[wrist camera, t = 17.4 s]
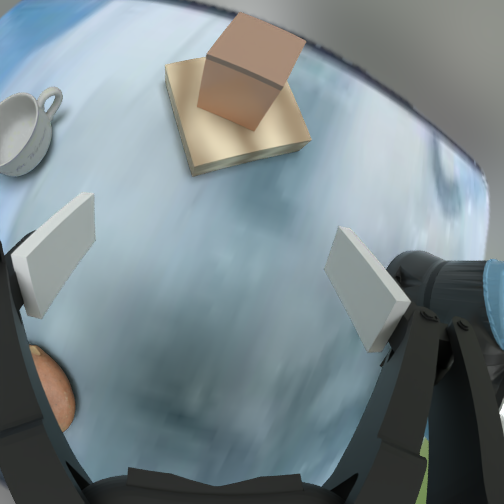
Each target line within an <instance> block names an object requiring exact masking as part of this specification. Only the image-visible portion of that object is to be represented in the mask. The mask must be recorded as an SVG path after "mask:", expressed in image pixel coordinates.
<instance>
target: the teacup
mask: <svg viewBox="0 0 504 504" xmlns="http://www.w3.org/2000/svg"><path fill="white" fill-rule="evenodd" d="M53 95H55V99H54V102H53V104H52V105H51V107H50V108H49V110H48V111H47V112H45V111H44V109H45V108H44V103H45V101H46V100H47V99H48V98H49V97H51V96H53ZM62 99H63V95H62V92H61V90H60V89H59V88H57V87H49V88H47V89H46V90H44V91H43V92H42V93H41V94H40V96H39V98H38V100H37V101H36V99H35V98H34V97H33V96H32V95H30V94H28V93H17V94H14V95H12V96H9V97H8V98H6V99H5V100H3V101H2V102H1V103H0V173H2V174H4V175H7V176H12V177H16V176H21V175H24V174H26V173H28V172H30V171H31V170H33V169H34V168H35V167H36V166H37V165H38V164H39V163H40V162H41V160H42V159H43V157H44V156H45V154H46V152H47V150H48V148H49V145H50V142H51V137H52V128H51V121H52V120H53V116H54V114H55V113H56V111H57V110H58V108H59V106H60V104H61V102H62Z"/></svg>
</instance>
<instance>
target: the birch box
mask: <svg viewBox="0 0 504 504" xmlns="http://www.w3.org/2000/svg"><path fill="white" fill-rule="evenodd" d="M205 60H206V57H202V58H196V59H191V60H185V61H180V62H176V63H171V64H166V65H165V82H166V86H167V90H168V93H169V97H170V101H171V104H172V108H173V112H174V115H175V119H176V122H177V126H178V129H179V133H180V136H181V140H182V143H183V147H184V150H185V154H186V157H187V160H188V164H189V167H190V170H191V174H192V177H194V176H197V175H201V174H205V173H208V172H212V171H215V170H219V169H223V168H227V167H231V166H235V165H239V164H243V163H247V162H251V161H255V160H259V159H264V158H268V157H272V156H277V155H282V154H286V153H291V152H296V151H299V150H300V149H302V148H303V147H304V146H305V145H306V144H308V143H309V142H310V141H311V137H310V134H309V132H308V129H307V127H306V124H305V122H304V119H303V117H302V114H301V112H300V110H299V107H298V105H297V103H296V100H295V98H294V96H293V93H292V91H291V89H290V86H289V84H288V82H287V81H286V83H285V85H284V87H283V89H282V90H281V92H280V93H279V94H278V96H277V97H276V99H275V100H274V102H273V104H272V105H271V107H270V108H269V110H268V111H267V113H266V114H265V116H264V117H263V119H262V120H261V122H260V123H259V125H258V127H257V128H256V130H255V131H252V130H250V129H247V128H245V127H243V126H241V125H239V124H236V123H234V122H232V121H230V120H227V119H225V118H223V117H220V116H218V115H216V114H213V113H211V112H208V111H206V110H204V109H201V108H199V107H197V103H198V97H199V91H200V86H201V80H202V75H203V70H204V65H205Z"/></svg>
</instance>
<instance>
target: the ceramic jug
mask: <svg viewBox="0 0 504 504" xmlns="http://www.w3.org/2000/svg"><path fill="white" fill-rule="evenodd" d="M29 347H30V351H31V354H32V357H33V360H34V363H35V366H36V369H37V372H38V375H39V378H40V381H41V383H42V386H43V389H44V391H45V394H46V396H47V399H48V401H49V404H50V406H51V408H52V411H53V413H54V415H55V418H56V420H57V422H58V424H59V426H60V428H61V430H62V432H64V431H65V430H66V429H67V428H68V427H69V426H70V425H71V423H72V421H73V418H74V414H75V398H74V394H73V392H72V388H71V385H70V382H69V380H68V378H67V376H66V375H65V373H64V372H63V370H62V369H61V367H60V366H59V365H58V364H57V363H56V362H55V361H54V360H53V359H52V358H51V357H50V356H49V355H48V354H46V353H45V352H44V351H43V350H42V349H41V348H39V347H38V346H37V345H34V346H33V345H30V344H29Z"/></svg>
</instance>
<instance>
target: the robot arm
mask: <svg viewBox="0 0 504 504" xmlns="http://www.w3.org/2000/svg"><path fill="white" fill-rule="evenodd" d="M95 241H96V238H95V213H94V193H86V192H81V193H80V194H79V195H78V196H76V197H75V198H74V199H73V200H71V201H70V202H69V203H68V204H66V205H65V206H64V207H63V208H61V209H60V210H59V211H58V212H57V213H55V214H54V215H53V216H52V217H51V218H50V219H48V220H47V221H46V222H45V223H44V224H43V225H42V226H40V227H39V228H38V229H37V230H34V231H32V232H30V233H29V234H27V235H26V236H24V237H23V238H22V239H21V241H19V242H18V243H17V244H16V246H14V247H13V248H12V249H11V250H10V251H9V252H8V253H7V254H6V255H5V256H4V253H3V248H2V243H1V241H0V468H1V471H2V473H3V476H4V478H5V481H6V483H7V486H8V488H9V490H10V492H11V495H12V497H13V499H14V501H15V503H16V504H415V503H416V500H417V497H418V494H419V491H420V488H421V484H422V481H423V478H424V475H425V471H426V467H427V460H426V458H425V457H422V456H420V455H419V454H420V449H421V445H422V441H423V437H424V436H425V437H426V438H427V440H428V441H429V464H428V465H429V466H428V486H427V500H426V504H504V261H498V260H496V259H490V260H488V261H445V260H443V259H441V258H439V257H436V256H434V255H432V254H430V253H427V252H425V251H406V252H404V253H402V254H400V255H398V256H397V257H396V258H395V259H394V260H393V261H392V262H391V264H390V265H389V267H388V268H387V270H386V269H385V268H384V267H383V266H382V264H381V263H380V262H379V261H378V260H377V258H376V257H375V256H374V255H373V254H372V253H371V251H370V250H369V249H368V248H367V247H366V246H365V244H364V243H363V242H362V241H361V240H360V239H359V238H358V236H357V235H356V234H355V233H354V232H353V231H352V230H351V228H345V227H340V226H339V227H338V230H337V233H336V236H335V239H334V242H333V245H332V248H331V250H330V253H329V256H328V259H327V262H326V265H325V268H324V270H325V272H326V274H327V275H328V277H329V279H330V281H331V283H332V285H333V287H334V288H335V290H336V292H337V294H338V296H339V298H340V300H341V302H342V304H343V305H344V307H345V309H346V311H347V313H348V315H349V317H350V319H351V321H352V323H353V325H354V327H355V329H356V331H357V333H358V335H359V337H360V339H361V341H362V343H363V345H364V347H365V349H366V351H367V353H370V352H382V350H383V349H384V347H385V346H386V344H387V343H388V342H389V344H390V345H391V347H392V348H391V350H390V351H389V353H388V354H387V356H386V357H385V359H384V360H383V362H382V363H381V365H380V366H381V367H382V366H383V368H382V371H381V373H380V376H379V378H378V381H377V383H376V386H375V388H374V391H373V393H372V396H371V398H370V400H369V403H368V405H367V407H366V409H365V412H364V414H363V416H362V418H361V420H360V422H359V425H358V427H357V429H356V431H355V433H354V435H353V437H352V439H351V441H350V443H349V445H348V447H347V449H346V450H345V452H344V454H343V456H342V458H341V460H340V462H339V463H338V465H337V467H336V469H335V470H334V472H333V474H332V475H331V476H330V478H329V479H328V480H327V481H326V482H325V483H324V484H323V486H322V487H320V486H317V485H314V484H310V483H305V482H302V481H301V476H300V474H292V475H280V476H265V477H257V478H254V479H250V480H246V481H242V482H238V483H233V484H229V485H224V486H211V485H207V484H203V483H200V482H196V481H193V480H189V479H186V478H183V477H180V476H177V475H174V474H170V473H162V472H155V471H148V470H142V469H136V468H131V467H128V475H121V476H115V477H110V478H106V479H102V480H100V481H97V482H95V483H93V482H92V481H91V479H90V478H89V476H88V475H87V474H86V472H85V471H84V469H83V468H82V467H81V465H80V464H79V462H78V461H77V459H76V457H75V455H74V454H73V452H72V450H71V448H70V446H69V444H68V442H67V440H66V438H65V436H64V434H63V432H62V430H61V428H60V426H59V424H58V422H57V420H56V418H55V415H54V413H53V411H52V408H51V406H50V404H49V401H48V399H47V396H46V394H45V391H44V389H43V386H42V383H41V381H40V378H39V375H38V372H37V369H36V366H35V363H34V360H33V357H32V354H31V351H30V347H29V344H28V340H27V337H26V333H25V329H24V325H23V321H22V317H21V314H20V311H19V310H20V308H21V307H22V305H23V304H24V306H25V310H26V313H27V315H28V316H31V317H35V318H39V319H43V317H44V315H45V314H46V312H47V310H48V309H49V307H50V306H51V304H52V302H53V301H54V299H55V298H56V296H57V295H58V293H59V291H60V290H61V288H62V287H63V285H64V284H65V282H66V281H67V280H68V278H69V277H70V275H71V274H72V272H73V271H74V269H75V268H76V267H77V265H78V264H79V262H80V261H81V260H82V258H83V257H84V255H85V254H86V253H87V251H88V250H89V249H90V247H91V246H92V245H93V243H94V242H95Z"/></svg>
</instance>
